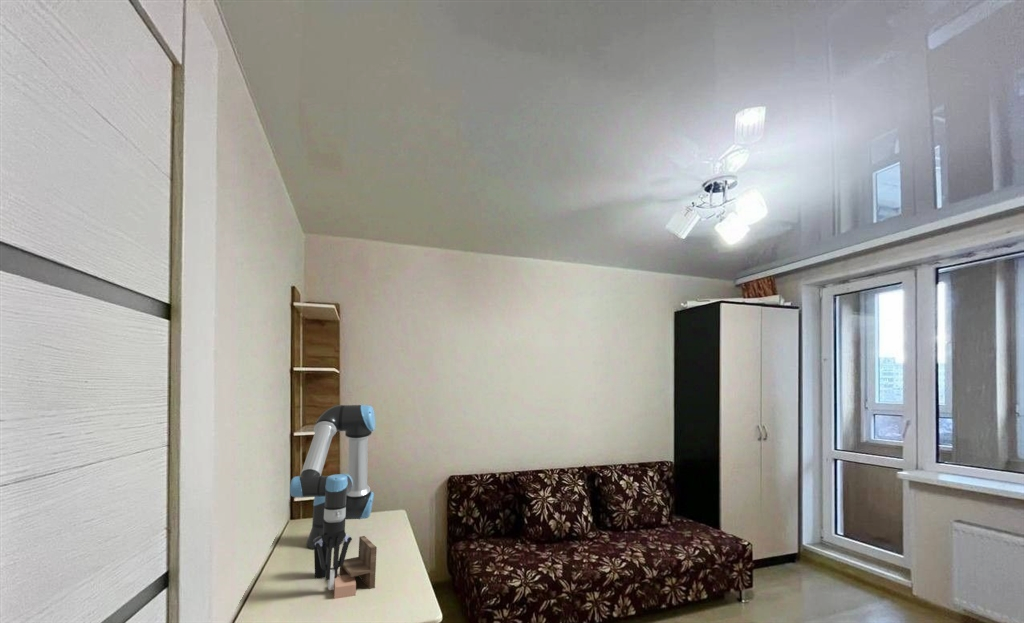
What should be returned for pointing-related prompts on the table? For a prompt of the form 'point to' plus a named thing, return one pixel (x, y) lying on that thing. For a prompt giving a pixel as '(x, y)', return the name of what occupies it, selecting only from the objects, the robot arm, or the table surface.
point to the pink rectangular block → (344, 586)
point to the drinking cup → (318, 570)
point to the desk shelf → (362, 563)
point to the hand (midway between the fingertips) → (330, 588)
